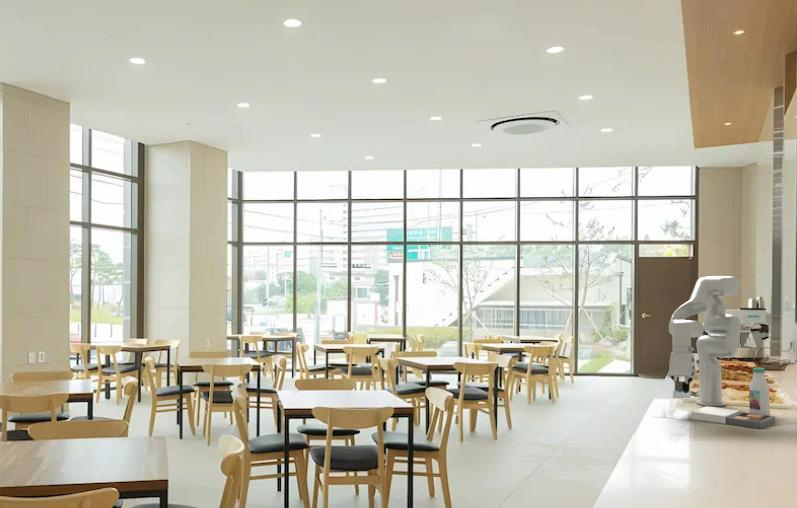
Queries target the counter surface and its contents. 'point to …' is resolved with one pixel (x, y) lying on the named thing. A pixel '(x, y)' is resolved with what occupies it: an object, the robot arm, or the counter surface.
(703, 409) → the offwhite board
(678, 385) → the dark block with bar
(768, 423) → the tray
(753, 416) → the tile
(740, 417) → the tile
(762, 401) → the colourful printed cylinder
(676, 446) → the counter surface
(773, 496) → the counter surface
